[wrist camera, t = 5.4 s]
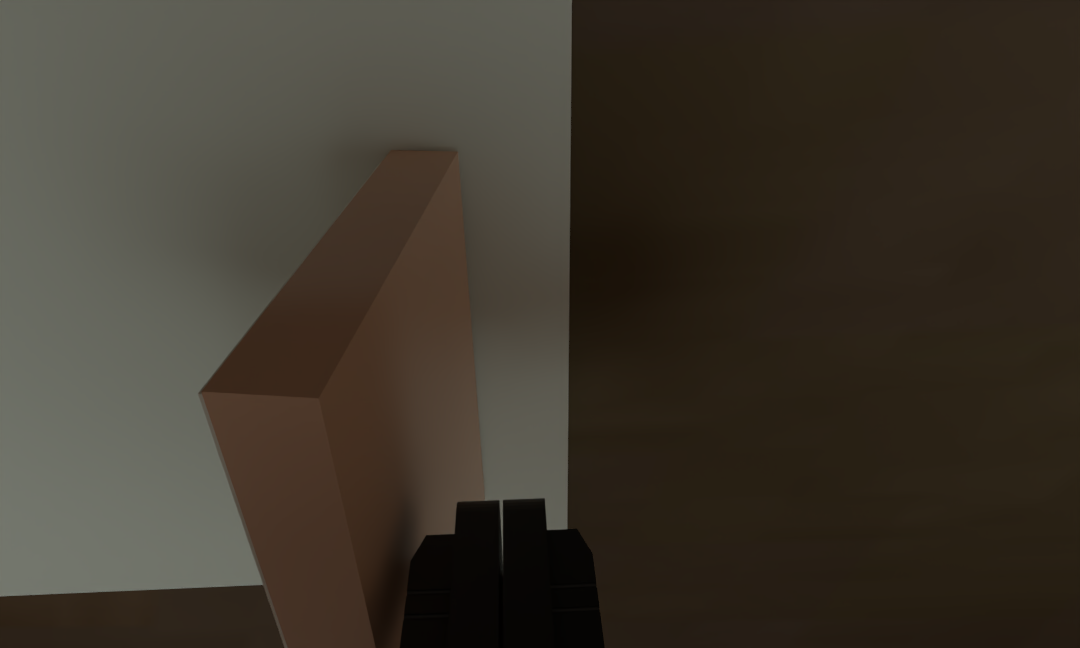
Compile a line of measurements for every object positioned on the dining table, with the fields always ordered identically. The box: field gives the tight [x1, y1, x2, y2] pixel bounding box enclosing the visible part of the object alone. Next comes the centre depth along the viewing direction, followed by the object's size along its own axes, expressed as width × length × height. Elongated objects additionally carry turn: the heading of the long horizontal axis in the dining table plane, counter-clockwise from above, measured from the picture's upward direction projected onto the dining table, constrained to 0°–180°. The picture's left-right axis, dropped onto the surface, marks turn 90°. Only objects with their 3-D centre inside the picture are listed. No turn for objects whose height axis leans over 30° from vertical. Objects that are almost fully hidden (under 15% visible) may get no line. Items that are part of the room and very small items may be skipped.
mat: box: [0, 0, 572, 596], centre depth 18 cm, size 18×17×1 cm
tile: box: [198, 150, 485, 648], centre depth 14 cm, size 2×10×8 cm, turn 1°
